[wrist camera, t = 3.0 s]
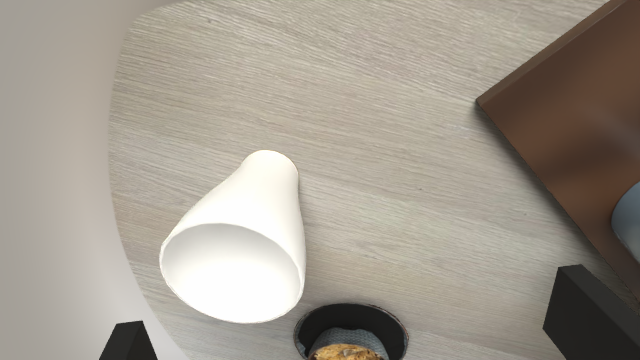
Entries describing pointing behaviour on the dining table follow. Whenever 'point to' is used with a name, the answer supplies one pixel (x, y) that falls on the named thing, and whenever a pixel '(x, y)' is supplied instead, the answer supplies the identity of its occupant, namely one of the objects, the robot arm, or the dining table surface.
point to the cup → (241, 245)
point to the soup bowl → (350, 334)
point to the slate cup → (628, 221)
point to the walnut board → (581, 122)
